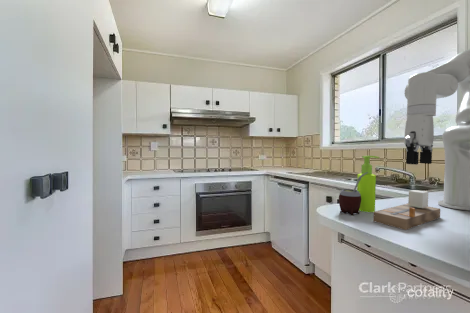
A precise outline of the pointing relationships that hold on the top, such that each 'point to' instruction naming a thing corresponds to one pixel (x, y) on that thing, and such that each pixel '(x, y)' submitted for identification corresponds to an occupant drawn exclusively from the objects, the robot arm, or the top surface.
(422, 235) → the top surface
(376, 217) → the fader console
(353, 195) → the mate gourd
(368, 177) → the soap dispenser
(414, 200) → the fader knob
